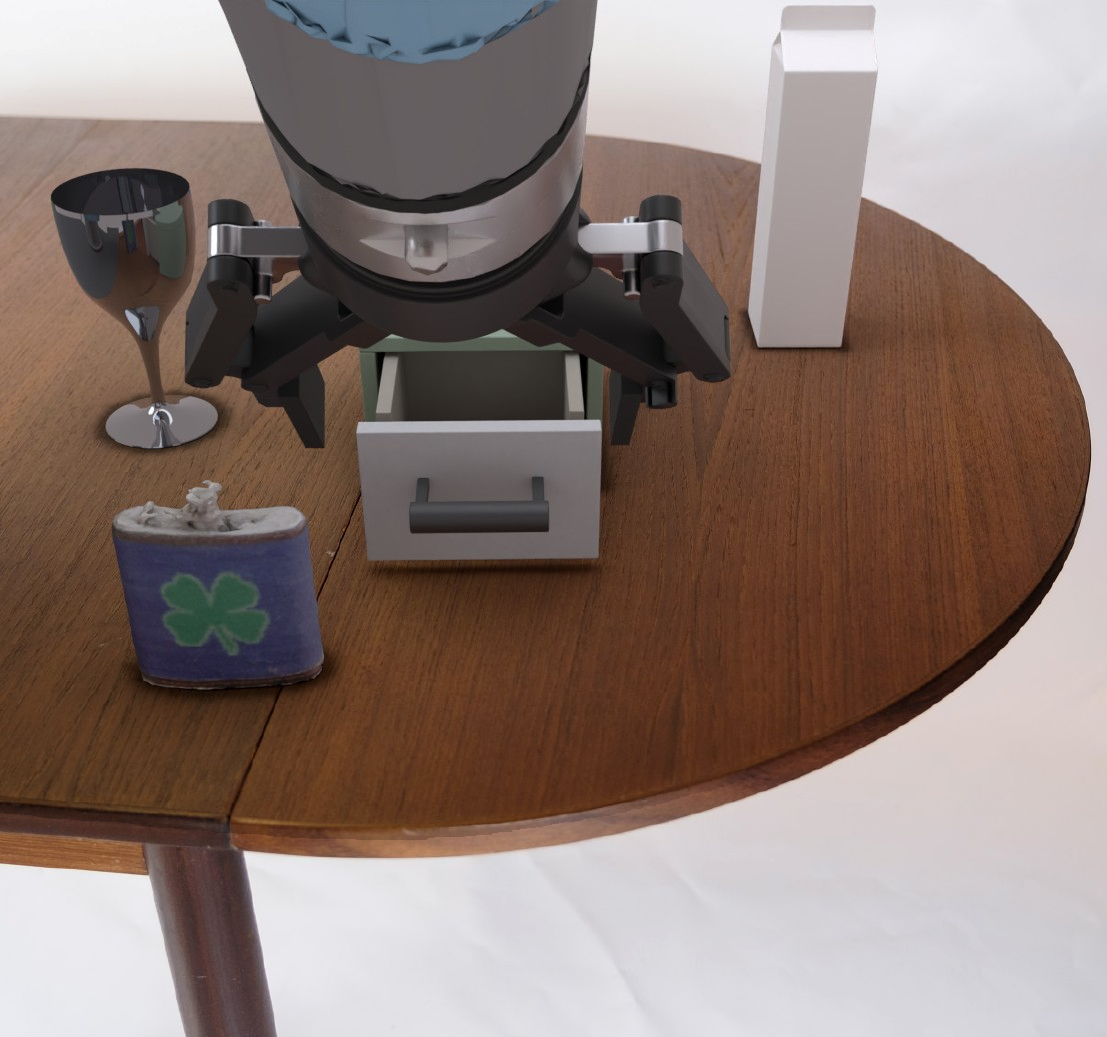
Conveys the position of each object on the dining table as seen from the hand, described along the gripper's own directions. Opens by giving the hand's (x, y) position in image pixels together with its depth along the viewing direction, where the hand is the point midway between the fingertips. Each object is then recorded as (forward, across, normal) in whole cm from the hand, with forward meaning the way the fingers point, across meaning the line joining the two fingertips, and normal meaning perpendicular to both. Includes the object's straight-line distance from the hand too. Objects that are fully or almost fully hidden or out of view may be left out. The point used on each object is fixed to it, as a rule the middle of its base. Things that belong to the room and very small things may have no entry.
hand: (467, 414), depth 57 cm
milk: (+44, +22, +20) cm, 53 cm away
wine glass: (+35, -21, +10) cm, 42 cm away
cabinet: (+34, 0, +10) cm, 36 cm away
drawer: (+25, 0, +2) cm, 25 cm away
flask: (+16, -12, -8) cm, 22 cm away
